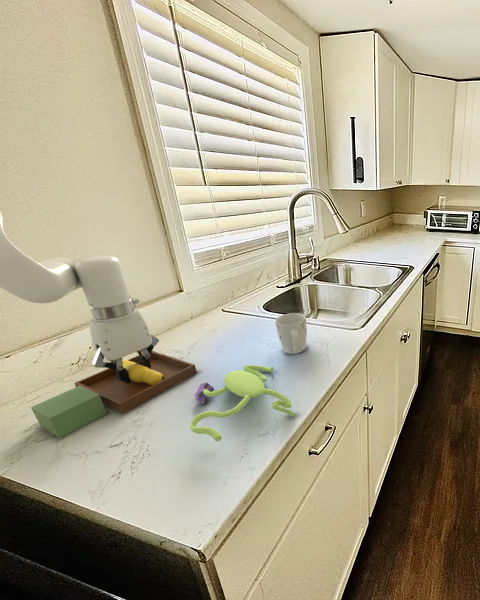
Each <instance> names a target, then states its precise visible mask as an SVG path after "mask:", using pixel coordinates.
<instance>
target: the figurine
mask: <svg viewBox="0 0 480 600" xmlns="http://www.w3.org/2000/svg"><path fill="white" fill-rule="evenodd" d="M261 371H262V372H267V373H272V372H274V366H271V367H269V366H264V365H256V364H255V365H254V364H245V365H244V366H243V370H240V369H239V370H233V371H230V372H228V373H227V374H225V376H224V379H223V383H224V385H225V386H223V387H221V388H220V389H217V390H215V388H214V386H212V385H211V384H210V383H208V382H203V383H201V384H199V386H198V388H197V390H196V392H195V393H194V395H193V396H194V397H195V398H194V399H195V400H196V401H198V402H199V403H200V404H202V405H203V404H206V403H207V402H208V401H209V398H212V397H218V396H220V395H222V394H225V393H226V392H228V391H230V392H231V393H232V394H234V395H237V396H238V397H242V399H241V400H240V401H239V403H237V405H236V406H234V407H233V408H232V409H229V410H226V411H216V410H206V411H203V412H200V413H199V414H197V415H196V416H195V417H193V419H192V420H191V423H190V425H189V426H190V427H189V429H190V431H192V432H193V433H195V434H197V435H200V434H201V435H202V434H204V435H208V436H210V437H211V438H213V440H214V441H215V442H220V441H222V439H223V437H222V435H221V434H220V432H219V431H217V430H216V429H214V428H212V427H207V426H197V424H198V423H199V422H200V421H202V420H203V419H206V418H210V417H211V418H221V419H222V418H229V417H231V416H234V415H236V414H238V413H239V412H240V411H241V410H242V409H243V408H244V407H245V406H246V405H247V404H248V402H249V401H250V400H251V399H252V398H253V399H254V398H258V397H260V396H262V395H263V394H264V395H269V396H272V397H275V398H277V399H278V400H274V401H273V402H272V406H271V407H272V409H274V410H275V411H278V412H282V413H285V414H287V415H288V416H290V417H293V416H295V412H293V410H289V409H291V408H292V401H291V400H290V399H289V398H288V397H287V396H285V395H284V394H282V393H281V392H279V391H276V390H274V389H270V388H265V384H264V383H265V382H267V381H268V377H266V376H265V375H264V374H263V373H261Z"/></svg>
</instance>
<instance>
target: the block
mask: <svg viewBox="0 0 480 600" xmlns="http://www.w3.org/2000/svg"><path fill="white" fill-rule="evenodd" d="M104 405H105V404H103V403H102V400H101V398H100V396H99V394H97V393H94V392H92V391H90V390H88V389H86V388H84V387H81V386H78V387H76V386H75V387H73V388H71V389H69V390H67V391H65V392H62V393H60V394H58V395H55V396H53V397H51V398H49V399H47V400H44V401H42V402H39V403H38V404H35V405H33V406H31V407H30V408H31V411H32V412H33V414H34V416H35V419H36V420H37V422H38V424H39V426H40V427H41V428H42V429H44V430H46V431H47V432H49V433H51V434H52V435H54V436H55V437H57V438H59V439H61V438H63V437H65V436H67V435H69V434H71V433H72V432H74V431H76V430H78V429H80V428H82V427H84V426H86V425H87V424H89V423H91V422H93V421H95V420H97V419H99V418H101V417H102V416H104V415H106V414H108V412H107V411H106V408H105V406H104Z"/></svg>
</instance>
